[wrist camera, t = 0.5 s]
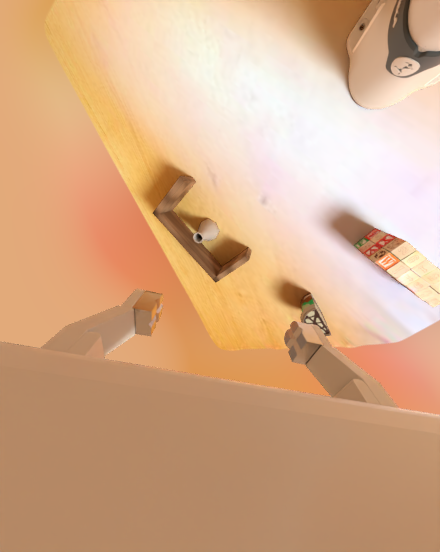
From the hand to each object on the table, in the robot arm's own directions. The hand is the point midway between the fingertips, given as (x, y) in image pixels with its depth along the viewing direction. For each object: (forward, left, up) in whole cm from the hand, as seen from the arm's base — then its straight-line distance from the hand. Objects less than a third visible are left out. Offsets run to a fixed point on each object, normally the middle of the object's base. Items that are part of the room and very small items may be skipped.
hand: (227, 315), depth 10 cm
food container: (+21, +30, -46) cm, 59 cm away
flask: (+12, -13, -46) cm, 50 cm away
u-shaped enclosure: (+12, -13, -46) cm, 50 cm away
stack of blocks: (-4, +39, -47) cm, 61 cm away
